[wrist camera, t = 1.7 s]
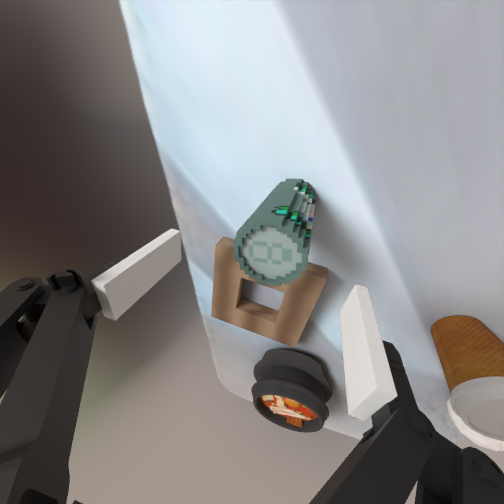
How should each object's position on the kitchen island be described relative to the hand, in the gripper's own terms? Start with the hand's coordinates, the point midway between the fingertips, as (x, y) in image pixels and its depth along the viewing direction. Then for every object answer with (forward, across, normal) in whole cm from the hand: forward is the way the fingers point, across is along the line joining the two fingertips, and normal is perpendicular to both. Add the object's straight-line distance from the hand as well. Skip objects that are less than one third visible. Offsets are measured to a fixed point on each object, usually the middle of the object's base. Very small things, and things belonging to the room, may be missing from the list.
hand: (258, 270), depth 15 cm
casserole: (+17, +11, -42) cm, 47 cm away
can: (+17, 0, 0) cm, 17 cm away
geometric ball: (+17, +39, -26) cm, 50 cm away
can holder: (+17, -1, -18) cm, 25 cm away
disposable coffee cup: (+17, +29, -13) cm, 36 cm away
